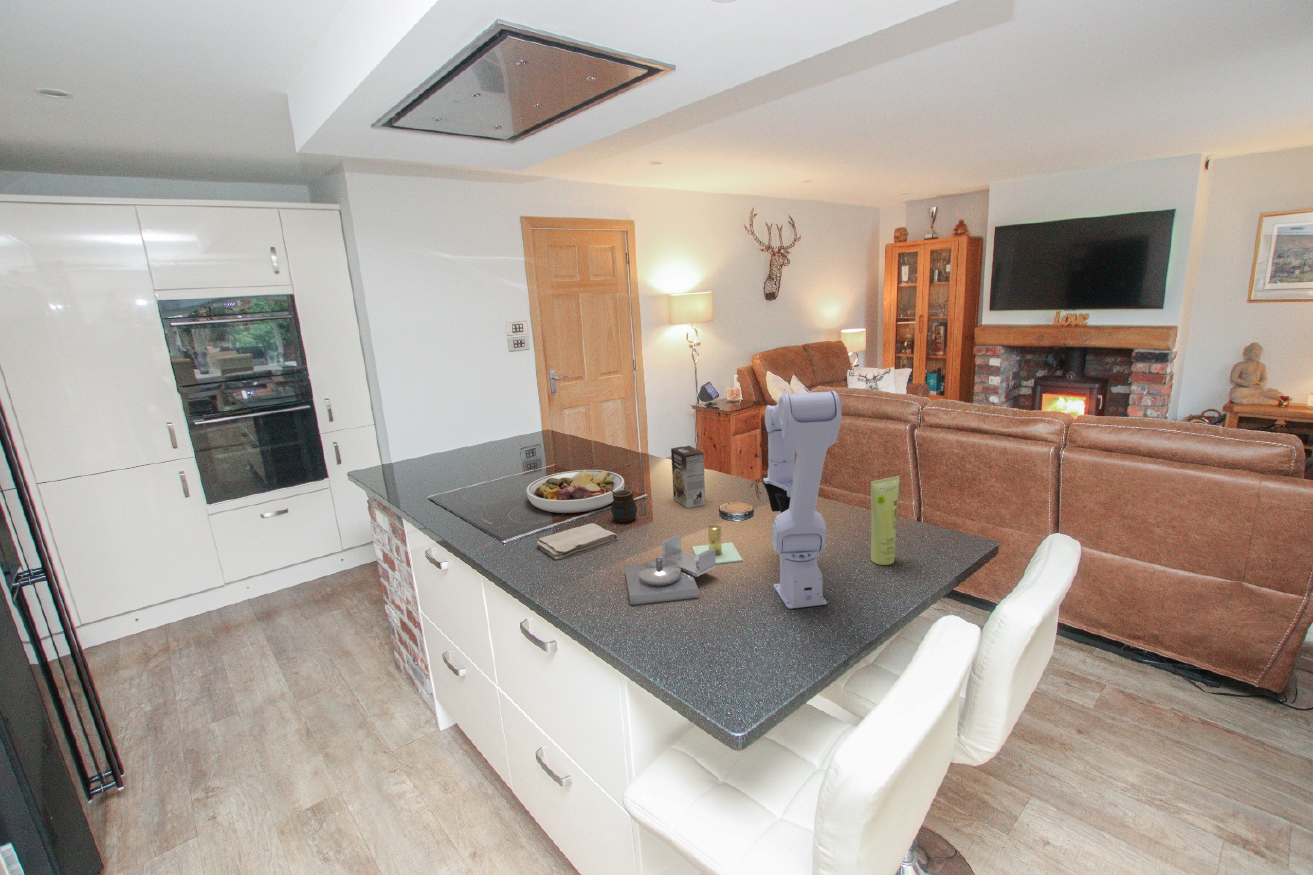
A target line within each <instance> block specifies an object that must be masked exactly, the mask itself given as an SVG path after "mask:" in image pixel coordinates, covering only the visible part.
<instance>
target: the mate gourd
mask: <svg viewBox="0 0 1313 875" xmlns="http://www.w3.org/2000/svg"><path fill="white" fill-rule="evenodd" d="M608 489H609V490H610V491H611V492H612V493H613V502H612V503H611V508H610V510H611V511H610V512H611V515H612V518H613V519H614V520H615V521H617V522H618V523H630V522H632V521H633V520H634V519H635V518H636V517H637V512H638V507H637V503H636V501H635V499H634V494H633V492H634V491H632V490H630V489H624V490H618V491H615V492H614V491H612V490H611V489H610V488H608Z"/></svg>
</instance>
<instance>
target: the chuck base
mask: <svg viewBox="0 0 1313 875" xmlns="http://www.w3.org/2000/svg"><path fill="white" fill-rule="evenodd" d="M643 564H644V563H637V564H632V565H631V564H629V565H625V566H624V568H625V569H624V570H625V578H626V584H627V585H626V586H627V590H628V597H629V604H630V606H637V605H643V604H644V605H645V604H652V603H653V604H654V603H660V602H661V603H663V602H671V601H678V600H680V601H681V600H689V599H699V593H700V592H699V587H698V585H697V582H696V580H695V576H694V575H692V574H690V573H688V572H685V571H683V570H681V577H680V578H679V579H678V580H677V581H676V582H674V583H671V584H668V585H660V586H655V585H649V584H645V583H643V582H642V581H641V580H640V579H639V571H638V570H639V567H640V566H641V565H643Z"/></svg>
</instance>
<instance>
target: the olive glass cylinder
mask: <svg viewBox="0 0 1313 875" xmlns="http://www.w3.org/2000/svg"><path fill="white" fill-rule="evenodd" d="M707 530H708V531H707V532H708V545H709V549H715V554H716V556H719V555H721V554H722V526H720V525H717V524H712V525H709V526H708V528H707Z"/></svg>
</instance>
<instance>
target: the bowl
mask: <svg viewBox="0 0 1313 875" xmlns="http://www.w3.org/2000/svg"><path fill="white" fill-rule="evenodd" d="M608 488H610V489H611V490H612V491H614V492H615V491H618V490H625V479H624V477H623V476H621V474H618V473H615V472H613V471H608V470H603V469H600V470H599V469H581V470H580V469H578V470H570V471H563V472H557V473H553V474H548V475H546V476H543V477H540V478H538V479H536V480H534V481H532V482H531V483H529V485H528V486H527V487H526V495H527V496H526V497H527V498H528V500H529V501H530V503H531V504H532V505H533V506H534V507H535V508H538V510H542V511H545V512H549V513H550V512H551V513H556V514H572V513H574V514H575V513H583V512H589V511H594V510H598V509H600V508H603V507H606V506H608V505H610V504H612V502H613V493H612V492H611V491H610V490H609V489H608Z"/></svg>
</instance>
